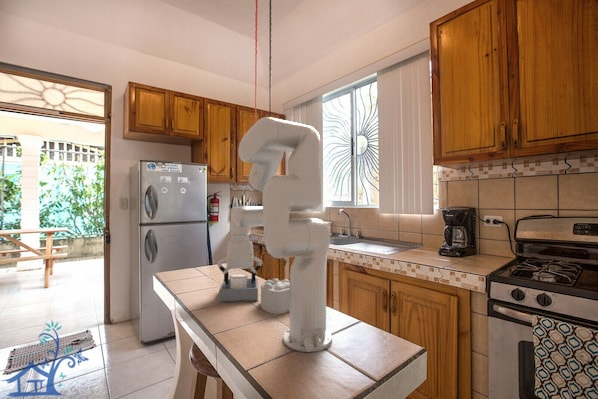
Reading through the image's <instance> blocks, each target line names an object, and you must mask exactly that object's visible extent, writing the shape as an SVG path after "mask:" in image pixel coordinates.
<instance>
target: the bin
mask: <svg viewBox="0 0 598 399" xmlns="http://www.w3.org/2000/svg"><path fill="white" fill-rule="evenodd" d="M258 280H259V278H257V277H255V281H254V282H253V284H252V277H251V278H247V288H237V289H230V278H229V281H228V284H227V285H226V282H224V279H223V281H222V283H221V285H220V286H219V292H218V302H219V304H223V303H225V304H226V303H242V302H243V303H246V302H259V294H258V293H259V283H258V282H259V281H258Z"/></svg>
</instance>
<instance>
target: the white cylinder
mask: <svg viewBox="0 0 598 399" xmlns="http://www.w3.org/2000/svg"><path fill="white" fill-rule="evenodd" d="M229 279H230V289H237V288H247V279H249V276H248V274H245V273H244V274H242V273H235V274H231V275H230V276H229Z"/></svg>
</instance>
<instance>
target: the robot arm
mask: <svg viewBox="0 0 598 399" xmlns="http://www.w3.org/2000/svg"><path fill="white" fill-rule="evenodd" d="M320 150H321V138H320V134H319V132H318V131H317V130H316V129H315V128H314V127H313V126H311V125H306V124H304V123H303V124H302V123H298V122H294V121H289V120H284V119H279V118H275V117H270V116H269V117H268V116H267V117H262V118H259V119H258V120H257V121H256V122H255V123H254V124H253V125H252V126H251V127H250V128H249V129H248V130H247V132H246V133H245V134H244V135H243V137H242V139H241V140H240V142H239V145H238V157H239V159H240V160H241V161H242V162H244V163H249V164H251V163H252V166H251V169H250V172H249V175H248V180H247V181H248V183H249V185H250V186H251V187H252V188H254V189H255V190H257V191H259V192H261V193H262V205H250V206H249V205H248V206H247V205H244V206H243V205H242V206H233V207H231V209H230V233H229V234H230V240H229V241H228V244H227V248H226V256H225V257H223V258H222V259H219V260H218V261H216V265H217V267H218V269H219V270H220V271H221V272H222V274H223V275H224V276H223V280H224V282H226V285H227V284H228V281H229V279H230V276H229V271H230V270H234V269H235V270H236V269H237V270H239V269H244V270H245V269H250V271H251V278H252V284H253V282H254V281H255V278H256V273H257V272H258V270H260V268H261V266H262V265H263V263H264V262H263V260H262V259H261V258H258V257H257V256H254V245H253V241H252V240H254V239H255V234H254V235H253V234H251V228H253V227H263V238H264V245H265V249H266V252H267V253H268V254H269V255H270V256H271V257H272V258H273V259H288V258H293V257H294V259H293V260H292V263H291V267H290V268H289V269H290V271H289V282H290V311H289V318H288V319H289V323H288V326H289V327H288V329H286V330H285V331H284V333H283V337H282V338H283V343H284V344H285V345H286V347H288V348H289V349H292V350H295V351H298V352H302V353H303V352H304V353H312V352H313V353H314V352H319V351H323V350H324V349H327V348H328V347H329V346H330V345H331V344H332V342H333V335H332V333H331V332H330V331H329V330H328V329H327V263H328V261H327V260H328V254H329V248H330V246H331V231H330V228H329V226H328V225H327V223H326V222H325V221H324V220H322V219H319V218H315V217H295V218H294V217H293V218H290V214H304V213H307V214H308V213H313V212H316V211H317V210H319V208H320V207H321V204H322V183H321V170H320ZM285 152H287V153H290V155H289V157H288V160H287V161H288V162H287V173H288V174H287V175H285V174H278V172H279V169H280V166H281V163H282V160H283V157H284V154H285ZM254 261H255V262H257V265H256V266H254ZM225 262H226V263H225ZM223 263H225V264H226V268H225V267H224V266H223Z"/></svg>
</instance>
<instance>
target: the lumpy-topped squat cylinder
mask: <svg viewBox="0 0 598 399" xmlns="http://www.w3.org/2000/svg"><path fill="white" fill-rule="evenodd" d="M260 308H261V309H263V310H264V311H266V312H268V313H271V314H272V315H273V314H275V315H281V314H284V313H288V312H290V279H287V278H285V279H282V280H280V279H279V278H276V277H275V278H272V279H267V280H266V281H264V282H262V283H261V285H260Z"/></svg>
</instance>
